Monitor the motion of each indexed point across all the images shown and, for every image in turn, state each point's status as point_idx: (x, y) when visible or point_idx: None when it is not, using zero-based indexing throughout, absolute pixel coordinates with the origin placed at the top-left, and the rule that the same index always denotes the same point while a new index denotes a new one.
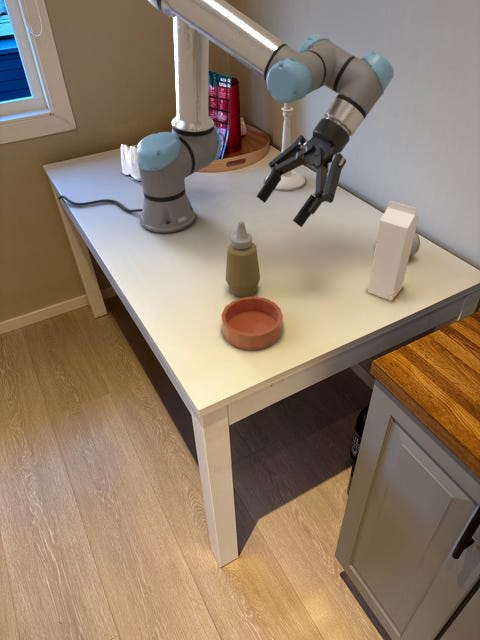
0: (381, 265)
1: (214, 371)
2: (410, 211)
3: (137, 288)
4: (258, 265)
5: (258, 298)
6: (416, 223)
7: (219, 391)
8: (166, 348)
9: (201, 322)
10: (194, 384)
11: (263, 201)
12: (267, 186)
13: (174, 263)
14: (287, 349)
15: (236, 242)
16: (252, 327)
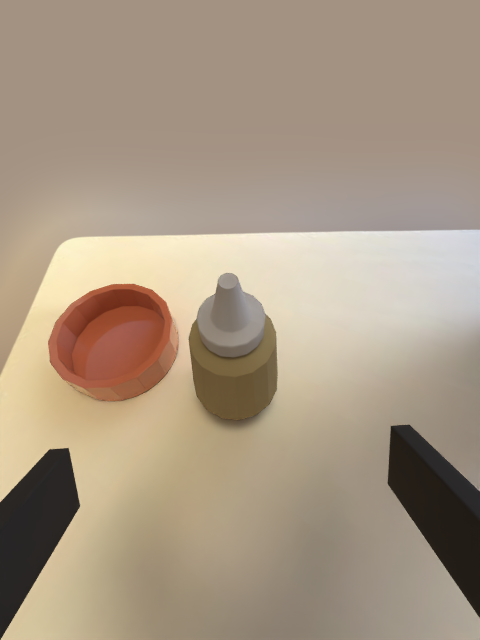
0: None
1: (94, 268)
2: None
3: (333, 246)
4: (208, 395)
5: (143, 365)
6: None
7: (61, 260)
8: (176, 238)
9: (195, 290)
10: (95, 243)
11: (390, 472)
12: (445, 498)
13: (391, 314)
14: (38, 374)
15: (214, 294)
16: (121, 345)
